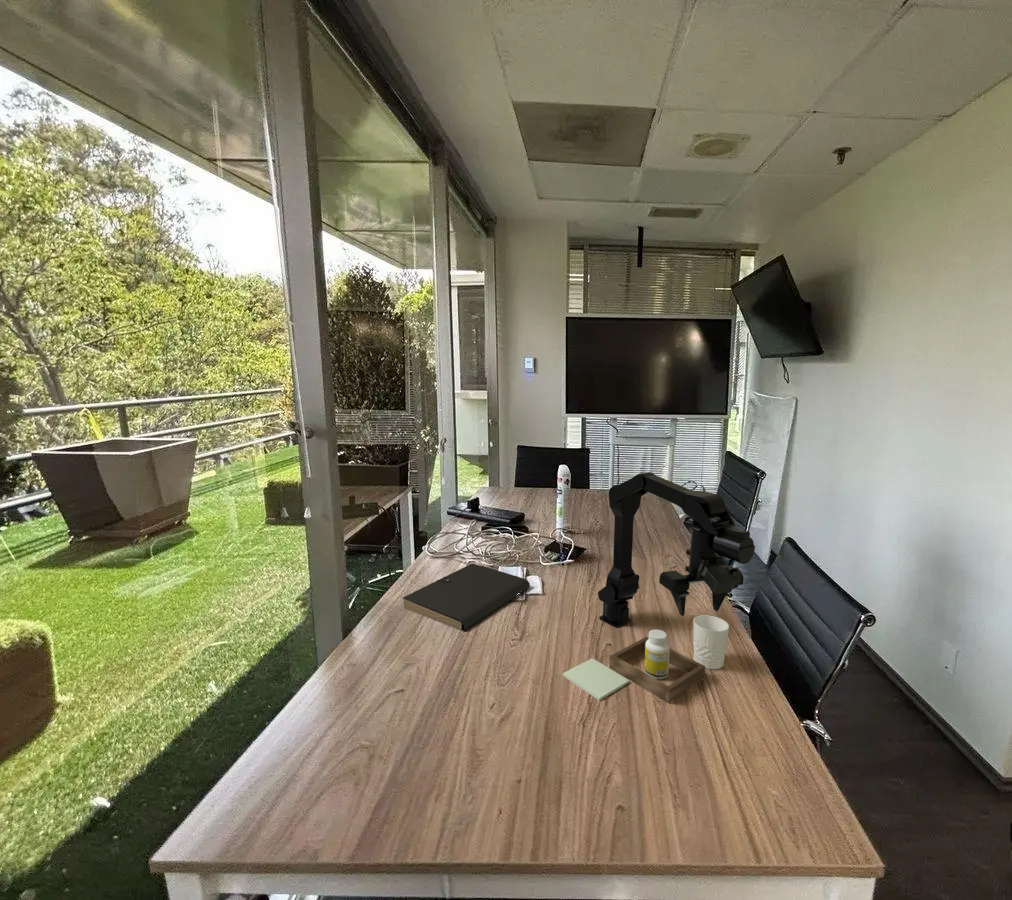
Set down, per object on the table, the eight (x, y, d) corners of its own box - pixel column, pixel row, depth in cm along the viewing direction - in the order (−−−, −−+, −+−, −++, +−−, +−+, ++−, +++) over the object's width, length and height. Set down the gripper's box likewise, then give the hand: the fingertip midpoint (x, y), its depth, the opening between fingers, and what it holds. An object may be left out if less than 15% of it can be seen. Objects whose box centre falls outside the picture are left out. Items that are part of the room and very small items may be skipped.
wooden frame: (609, 667, 115) (609, 655, 114) (645, 647, 123) (646, 636, 123) (668, 703, 102) (669, 690, 102) (704, 678, 111) (705, 666, 110)
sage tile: (562, 675, 112) (562, 673, 112) (592, 660, 118) (592, 658, 118) (599, 700, 103) (599, 698, 103) (629, 682, 109) (629, 680, 109)
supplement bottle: (649, 663, 117) (651, 625, 115) (671, 672, 113) (674, 632, 112) (640, 673, 112) (642, 634, 111) (662, 683, 109) (665, 642, 108)
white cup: (705, 673, 113) (707, 633, 111) (684, 655, 120) (686, 617, 119) (733, 668, 115) (736, 628, 113) (711, 650, 122) (713, 613, 121)
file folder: (471, 562, 171) (530, 579, 157) (471, 573, 171) (529, 591, 158) (401, 596, 144) (464, 620, 130) (402, 609, 144) (464, 635, 131)
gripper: (690, 566, 100) (685, 636, 103) (765, 558, 105) (758, 625, 107) (659, 547, 111) (656, 611, 113) (728, 540, 116) (723, 602, 118)
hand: (698, 612), depth 113 cm, fingers open, 9 cm apart
